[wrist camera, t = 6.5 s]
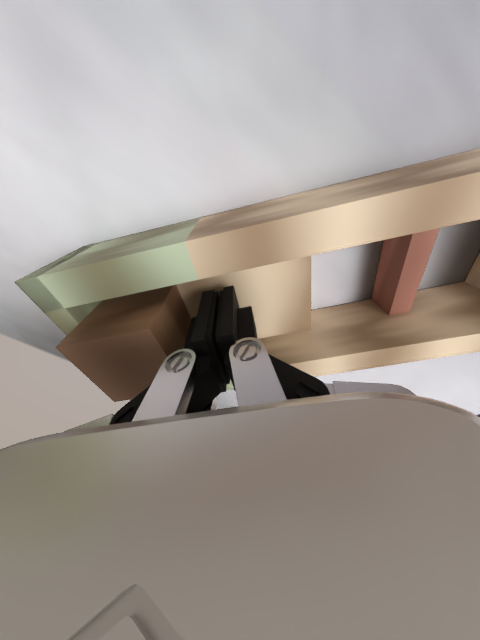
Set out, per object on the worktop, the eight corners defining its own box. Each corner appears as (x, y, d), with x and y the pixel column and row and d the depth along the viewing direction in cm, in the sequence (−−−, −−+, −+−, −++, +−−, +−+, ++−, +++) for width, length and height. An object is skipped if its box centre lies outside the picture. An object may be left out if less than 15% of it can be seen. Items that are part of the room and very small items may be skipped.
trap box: (564, 127, 9) (788, 98, 5) (470, 297, 14) (550, 340, 11) (83, 246, 11) (14, 282, 8) (155, 353, 17) (134, 404, 13)
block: (174, 281, 11) (149, 329, 8) (199, 336, 13) (188, 390, 10) (106, 296, 11) (55, 347, 8) (142, 346, 13) (114, 401, 10)
